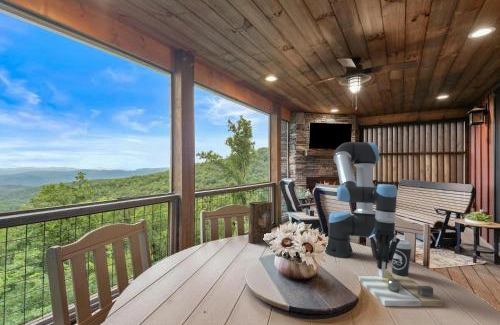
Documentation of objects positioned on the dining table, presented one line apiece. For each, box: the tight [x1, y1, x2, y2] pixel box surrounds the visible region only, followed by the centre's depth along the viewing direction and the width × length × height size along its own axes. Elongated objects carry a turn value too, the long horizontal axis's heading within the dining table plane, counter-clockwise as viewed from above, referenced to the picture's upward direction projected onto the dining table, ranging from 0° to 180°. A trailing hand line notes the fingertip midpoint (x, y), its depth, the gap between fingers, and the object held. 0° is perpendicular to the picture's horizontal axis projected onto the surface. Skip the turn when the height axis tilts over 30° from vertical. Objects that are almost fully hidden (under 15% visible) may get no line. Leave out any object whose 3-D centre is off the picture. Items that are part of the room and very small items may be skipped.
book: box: [247, 200, 273, 245], centre depth 167 cm, size 16×6×25 cm, turn 130°
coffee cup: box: [390, 239, 413, 277], centre depth 122 cm, size 10×10×15 cm
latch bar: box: [383, 269, 400, 292], centre depth 106 cm, size 14×4×3 cm, turn 167°
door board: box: [358, 275, 445, 307], centre depth 103 cm, size 20×22×5 cm
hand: (381, 276), depth 109 cm, fingers closed
